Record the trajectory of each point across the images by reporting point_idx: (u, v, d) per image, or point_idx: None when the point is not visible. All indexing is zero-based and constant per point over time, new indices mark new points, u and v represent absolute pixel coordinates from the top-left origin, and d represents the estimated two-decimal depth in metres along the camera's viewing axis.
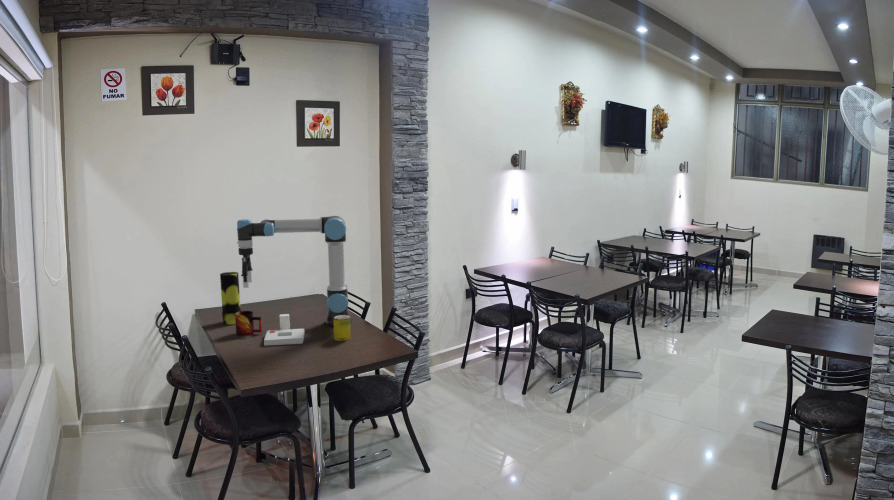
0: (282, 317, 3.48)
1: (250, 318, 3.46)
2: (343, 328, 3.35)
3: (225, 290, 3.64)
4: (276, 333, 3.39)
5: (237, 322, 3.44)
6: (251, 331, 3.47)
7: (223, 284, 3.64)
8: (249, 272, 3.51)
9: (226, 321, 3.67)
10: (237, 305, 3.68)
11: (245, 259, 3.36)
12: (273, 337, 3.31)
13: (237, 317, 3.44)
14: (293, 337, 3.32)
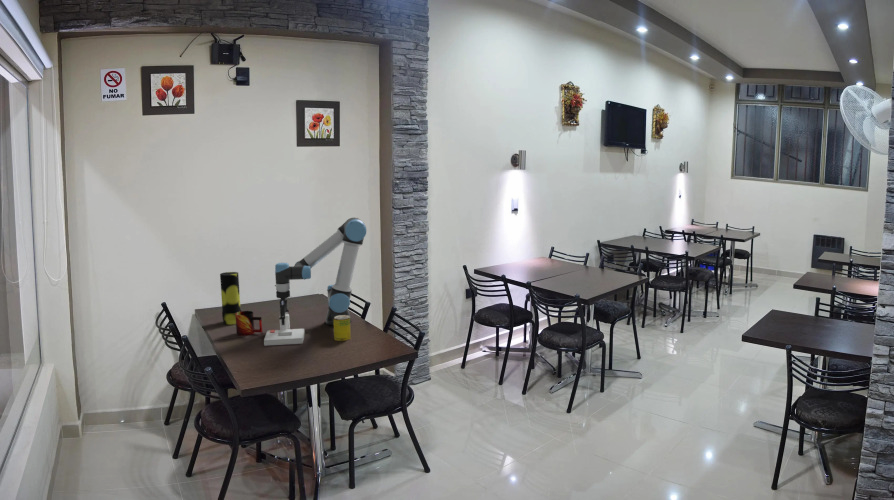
0: None
1: (250, 318, 3.46)
2: (343, 328, 3.35)
3: (225, 290, 3.64)
4: (276, 333, 3.39)
5: (237, 322, 3.44)
6: (251, 331, 3.47)
7: (223, 284, 3.64)
8: (285, 313, 3.57)
9: (226, 321, 3.67)
10: (237, 305, 3.68)
11: (283, 302, 3.42)
12: (273, 337, 3.31)
13: (237, 317, 3.44)
14: (293, 337, 3.32)
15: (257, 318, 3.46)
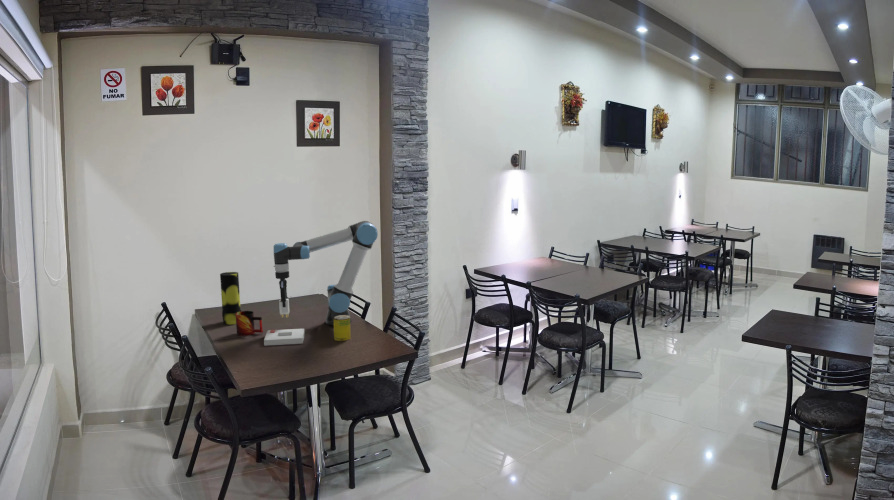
0: None
1: (251, 318, 3.46)
2: (343, 328, 3.35)
3: (225, 290, 3.64)
4: (276, 333, 3.39)
5: (238, 322, 3.44)
6: (252, 331, 3.47)
7: (223, 284, 3.64)
8: None
9: (226, 321, 3.67)
10: (237, 305, 3.68)
11: (283, 286, 3.41)
12: (273, 337, 3.31)
13: (238, 317, 3.44)
14: (293, 337, 3.32)
15: (257, 318, 3.46)
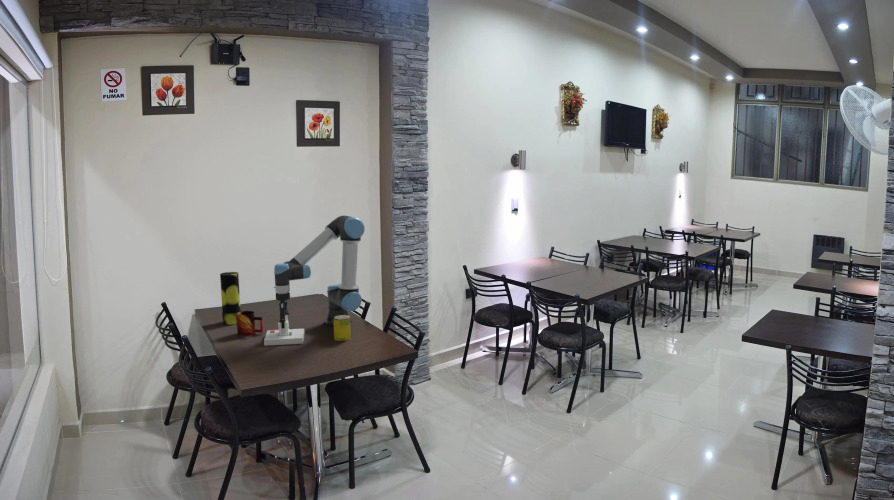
0: None
1: (251, 318, 3.46)
2: (343, 328, 3.35)
3: (225, 290, 3.64)
4: (276, 333, 3.39)
5: (238, 322, 3.44)
6: (252, 331, 3.47)
7: (223, 284, 3.64)
8: (285, 316, 3.43)
9: (226, 321, 3.67)
10: (237, 305, 3.68)
11: (283, 305, 3.28)
12: (273, 337, 3.31)
13: (238, 317, 3.44)
14: (293, 337, 3.32)
15: (258, 318, 3.46)
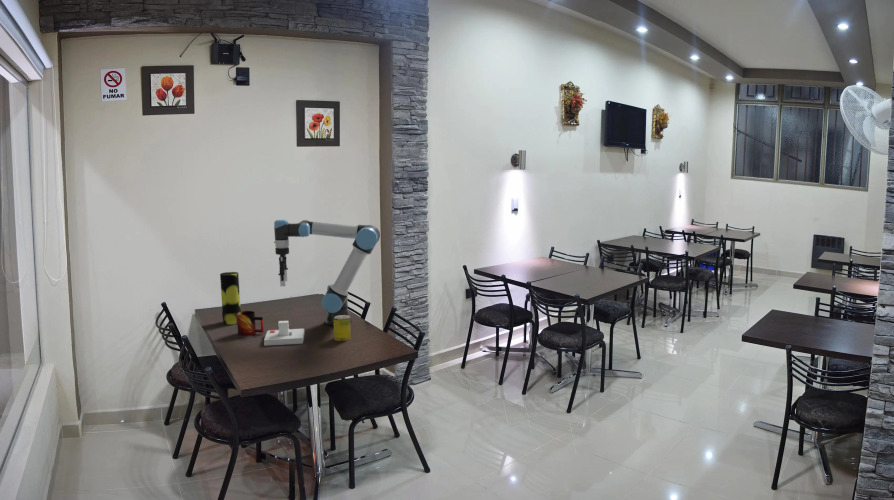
0: (281, 324, 3.35)
1: (252, 318, 3.46)
2: (343, 328, 3.35)
3: (225, 290, 3.64)
4: (276, 333, 3.39)
5: (239, 322, 3.44)
6: (253, 331, 3.47)
7: (223, 284, 3.64)
8: (285, 271, 3.60)
9: (226, 321, 3.67)
10: (237, 305, 3.68)
11: (282, 258, 3.45)
12: (273, 337, 3.31)
13: (239, 317, 3.44)
14: (293, 337, 3.32)
15: (258, 318, 3.46)
